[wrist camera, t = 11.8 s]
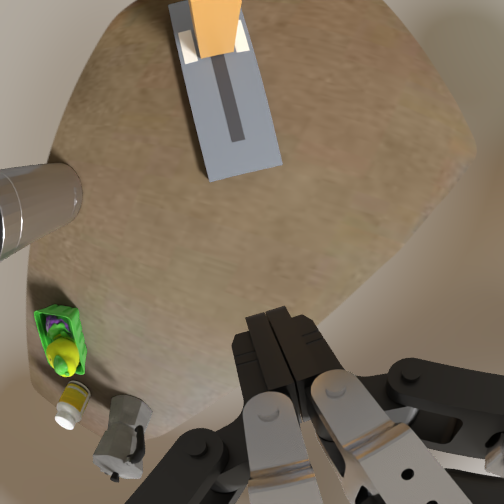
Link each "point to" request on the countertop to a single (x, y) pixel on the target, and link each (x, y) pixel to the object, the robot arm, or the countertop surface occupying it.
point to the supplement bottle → (72, 404)
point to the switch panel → (226, 101)
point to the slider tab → (215, 25)
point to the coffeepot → (123, 439)
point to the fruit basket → (62, 339)
